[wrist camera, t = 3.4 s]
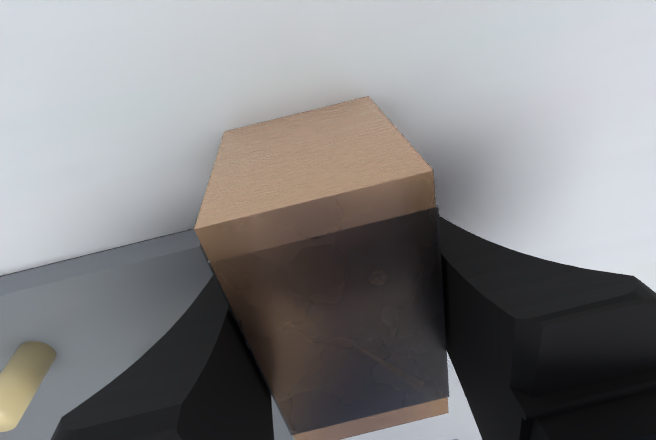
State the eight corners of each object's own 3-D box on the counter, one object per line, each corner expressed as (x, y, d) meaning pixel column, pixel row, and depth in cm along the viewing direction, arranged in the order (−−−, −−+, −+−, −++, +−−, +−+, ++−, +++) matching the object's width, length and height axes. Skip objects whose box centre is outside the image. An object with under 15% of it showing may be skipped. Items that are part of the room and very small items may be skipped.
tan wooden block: (397, 287, 16) (450, 412, 11) (289, 313, 16) (298, 449, 11) (369, 95, 12) (435, 169, 7) (222, 132, 12) (191, 229, 7)
